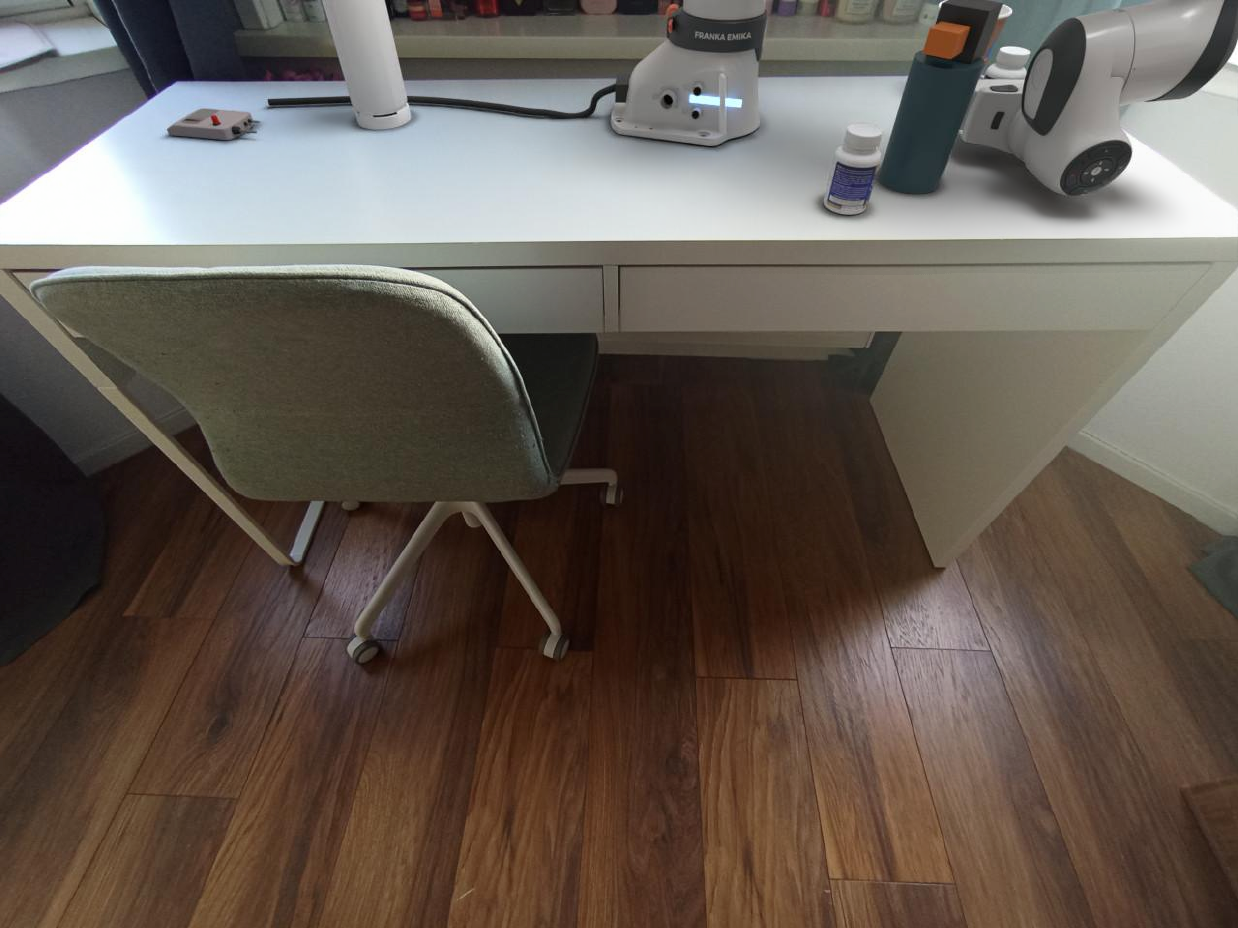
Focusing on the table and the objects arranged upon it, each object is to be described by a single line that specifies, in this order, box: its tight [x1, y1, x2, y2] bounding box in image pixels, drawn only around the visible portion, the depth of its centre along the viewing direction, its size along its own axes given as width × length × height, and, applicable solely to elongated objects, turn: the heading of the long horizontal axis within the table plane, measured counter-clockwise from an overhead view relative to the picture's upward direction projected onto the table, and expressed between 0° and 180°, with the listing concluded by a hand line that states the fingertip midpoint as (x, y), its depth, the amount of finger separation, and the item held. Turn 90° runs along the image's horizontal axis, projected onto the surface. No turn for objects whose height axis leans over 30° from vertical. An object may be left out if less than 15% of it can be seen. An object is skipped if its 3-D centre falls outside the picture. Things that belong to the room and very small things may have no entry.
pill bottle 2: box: [983, 45, 1031, 80], centre depth 92 cm, size 5×5×10 cm
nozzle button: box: [922, 22, 970, 59], centre depth 69 cm, size 3×3×2 cm
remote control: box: [166, 107, 261, 141], centre depth 93 cm, size 7×16×3 cm, turn 78°
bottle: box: [321, 0, 412, 131], centre depth 87 cm, size 8×8×28 cm
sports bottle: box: [877, 0, 1004, 195], centre depth 76 cm, size 8×8×19 cm
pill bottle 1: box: [823, 122, 884, 216], centre depth 75 cm, size 5×5×9 cm
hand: (999, 81), depth 92 cm, fingers open, 7 cm apart
